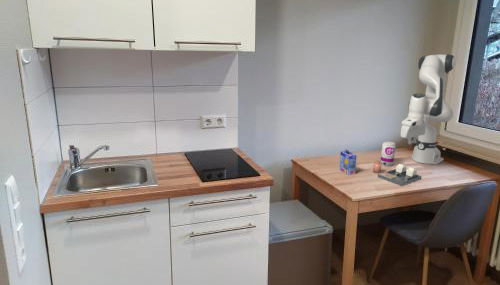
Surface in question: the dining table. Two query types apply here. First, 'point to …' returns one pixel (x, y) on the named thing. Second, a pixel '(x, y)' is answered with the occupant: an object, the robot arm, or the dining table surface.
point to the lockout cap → (377, 167)
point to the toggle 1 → (400, 168)
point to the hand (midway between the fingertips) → (411, 143)
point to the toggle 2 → (411, 171)
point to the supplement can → (387, 153)
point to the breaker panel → (398, 177)
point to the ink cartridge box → (347, 162)
